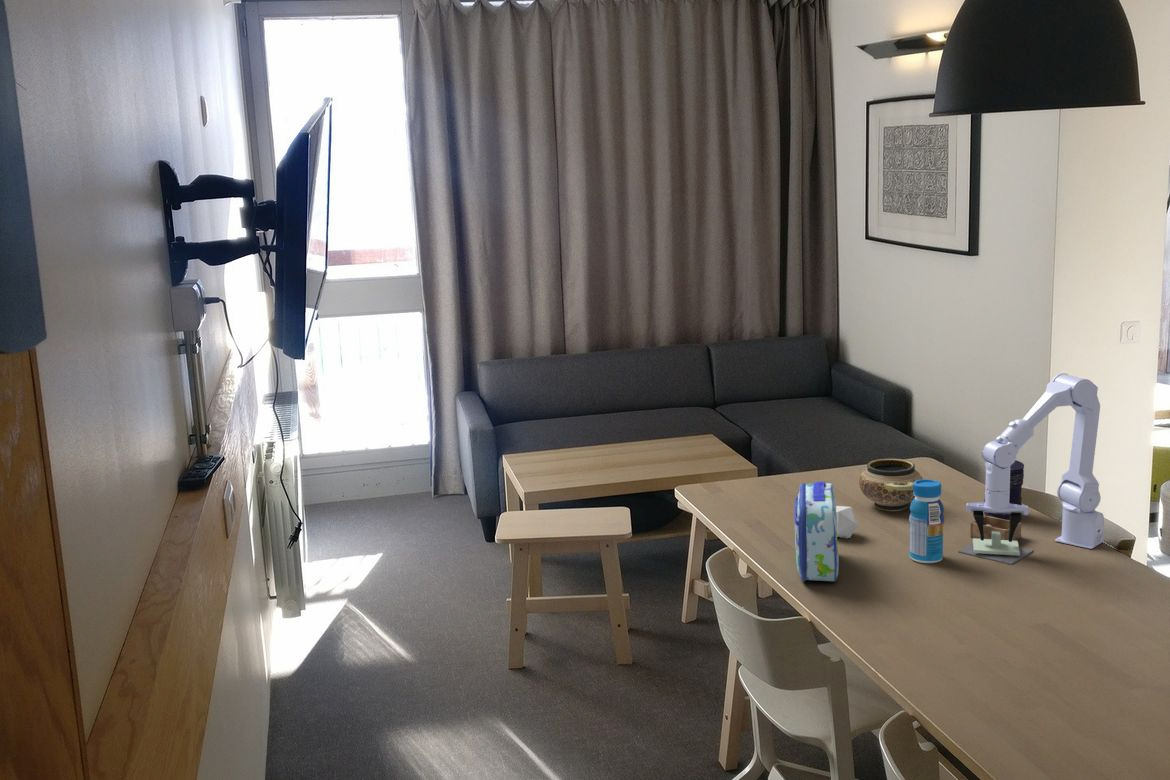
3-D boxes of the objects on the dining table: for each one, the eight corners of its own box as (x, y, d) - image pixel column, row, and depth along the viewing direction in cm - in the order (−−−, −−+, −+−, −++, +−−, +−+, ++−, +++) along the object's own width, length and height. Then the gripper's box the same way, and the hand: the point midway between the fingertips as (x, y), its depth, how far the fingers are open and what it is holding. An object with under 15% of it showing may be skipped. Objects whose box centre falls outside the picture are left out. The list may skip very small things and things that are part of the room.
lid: (1017, 545, 278) (1017, 529, 277) (1019, 557, 270) (1020, 541, 269) (972, 543, 281) (973, 527, 280) (973, 555, 273) (974, 538, 272)
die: (861, 534, 295) (844, 502, 298) (866, 529, 286) (848, 495, 289) (833, 547, 294) (816, 515, 298) (837, 542, 286) (819, 508, 289)
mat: (1033, 551, 274) (1033, 550, 274) (1011, 564, 266) (1011, 563, 266) (981, 539, 284) (981, 538, 284) (958, 552, 276) (958, 551, 276)
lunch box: (795, 550, 284) (794, 473, 280) (837, 551, 282) (837, 473, 277) (794, 587, 259) (793, 504, 255) (840, 589, 257) (840, 505, 252)
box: (1020, 537, 284) (1021, 522, 284) (1006, 545, 279) (1007, 530, 278) (984, 529, 292) (985, 515, 291) (970, 537, 286) (970, 523, 286)
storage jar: (1020, 522, 296) (1024, 471, 292) (982, 518, 300) (985, 467, 296) (1021, 510, 305) (1024, 460, 301) (984, 506, 309) (987, 456, 305)
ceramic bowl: (856, 504, 327) (844, 458, 324) (913, 486, 327) (901, 441, 323) (880, 530, 303) (867, 482, 300) (941, 512, 303) (929, 463, 299)
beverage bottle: (905, 561, 272) (906, 485, 267) (912, 550, 279) (913, 476, 275) (940, 566, 268) (941, 488, 264) (946, 554, 275) (947, 479, 271)
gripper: (1027, 485, 273) (1025, 536, 276) (966, 483, 278) (965, 533, 281) (1029, 493, 267) (1027, 545, 269) (967, 491, 271) (966, 542, 274)
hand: (996, 539), depth 275 cm, fingers open, 6 cm apart
